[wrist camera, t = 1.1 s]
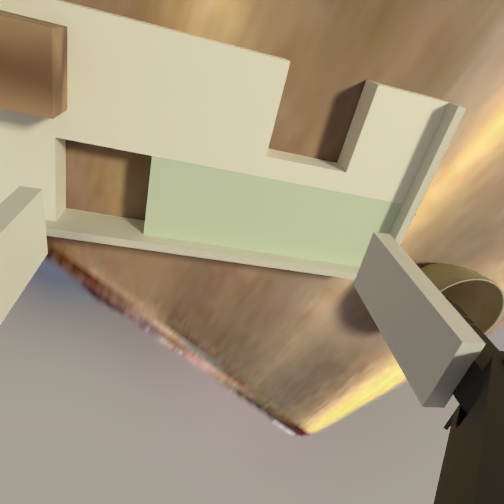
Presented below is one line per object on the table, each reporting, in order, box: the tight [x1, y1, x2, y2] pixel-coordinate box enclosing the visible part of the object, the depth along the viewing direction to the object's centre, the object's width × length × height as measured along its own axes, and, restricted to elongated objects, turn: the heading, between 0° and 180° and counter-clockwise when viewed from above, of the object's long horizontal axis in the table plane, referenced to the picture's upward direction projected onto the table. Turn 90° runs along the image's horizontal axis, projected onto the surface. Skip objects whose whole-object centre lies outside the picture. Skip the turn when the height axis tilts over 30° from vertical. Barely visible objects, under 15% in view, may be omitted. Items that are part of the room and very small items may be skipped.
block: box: [0, 10, 67, 119], centre depth 28 cm, size 6×6×4 cm
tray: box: [0, 0, 467, 280], centre depth 36 cm, size 19×41×4 cm, turn 77°
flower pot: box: [420, 263, 504, 334], centre depth 46 cm, size 10×10×7 cm
